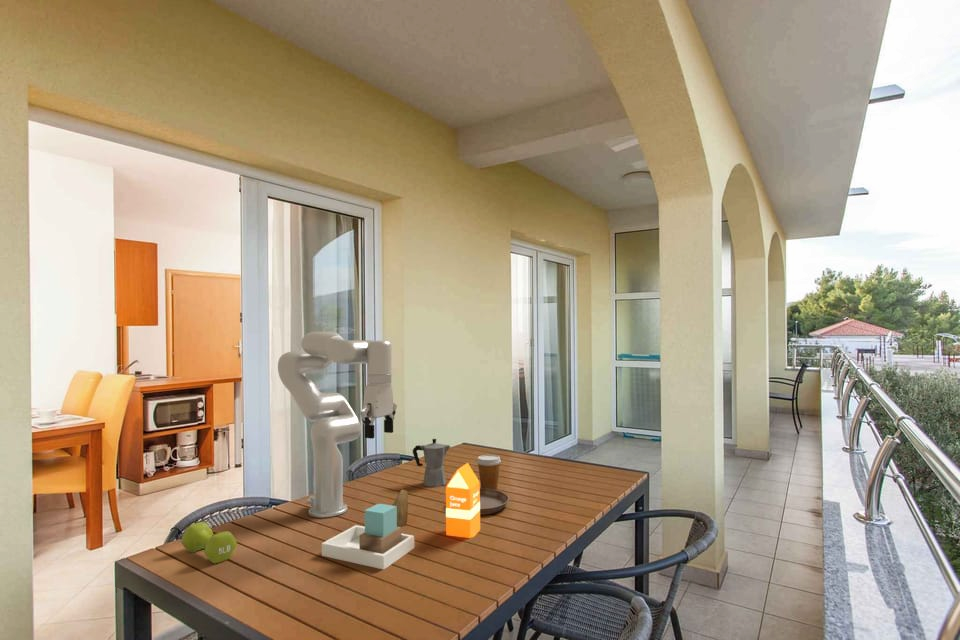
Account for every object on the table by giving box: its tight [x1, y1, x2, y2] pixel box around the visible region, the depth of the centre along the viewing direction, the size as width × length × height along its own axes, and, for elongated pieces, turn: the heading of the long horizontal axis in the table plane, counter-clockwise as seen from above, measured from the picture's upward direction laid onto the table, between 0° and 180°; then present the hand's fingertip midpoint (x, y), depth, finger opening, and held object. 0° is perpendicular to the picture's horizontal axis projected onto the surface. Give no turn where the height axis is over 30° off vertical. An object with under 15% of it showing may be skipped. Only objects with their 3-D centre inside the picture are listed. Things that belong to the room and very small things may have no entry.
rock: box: [391, 488, 409, 528], centre depth 154 cm, size 11×9×10 cm
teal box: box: [364, 503, 398, 537], centre depth 131 cm, size 6×6×6 cm
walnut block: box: [360, 526, 402, 554], centre depth 130 cm, size 7×9×6 cm
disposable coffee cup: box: [476, 454, 502, 490], centre depth 190 cm, size 10×10×12 cm
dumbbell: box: [180, 521, 238, 564], centre depth 133 cm, size 16×8×7 cm, turn 55°
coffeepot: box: [412, 438, 451, 488], centre depth 198 cm, size 15×9×18 cm, turn 102°
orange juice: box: [445, 462, 481, 539], centre depth 146 cm, size 8×9×20 cm
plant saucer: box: [480, 488, 510, 516], centre depth 170 cm, size 21×21×3 cm
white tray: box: [321, 524, 415, 571], centre depth 132 cm, size 20×14×4 cm
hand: (379, 435), depth 152 cm, fingers open, 9 cm apart
